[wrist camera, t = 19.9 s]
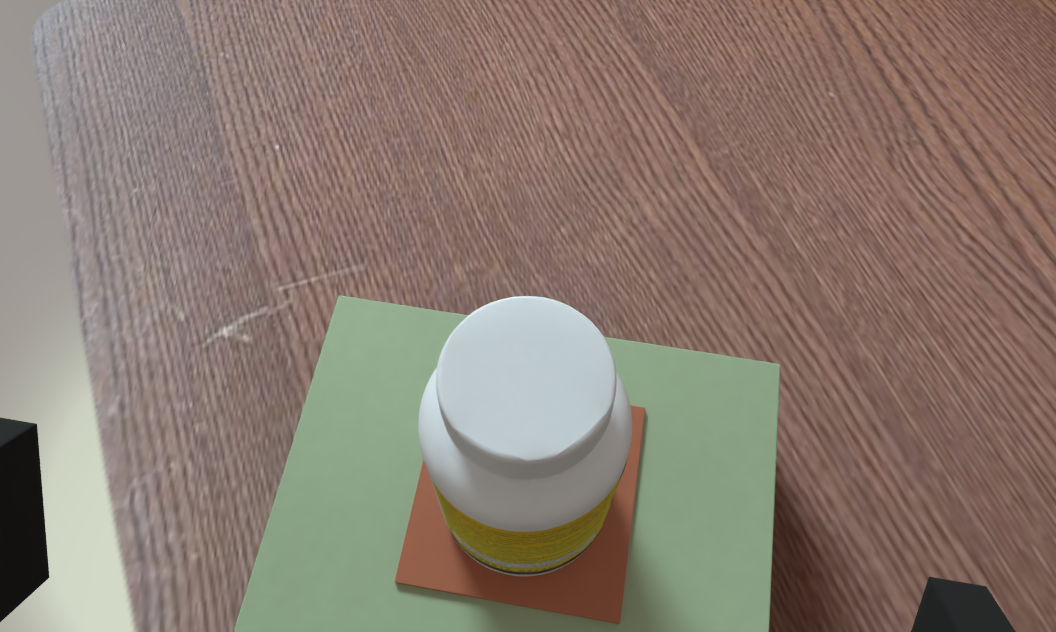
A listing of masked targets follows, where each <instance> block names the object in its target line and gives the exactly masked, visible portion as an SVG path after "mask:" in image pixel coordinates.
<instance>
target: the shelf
mask: <svg viewBox="0 0 1056 632" xmlns="http://www.w3.org/2000/svg"><path fill="white" fill-rule="evenodd" d="M467 316H468V315H461V314H455V313H448V312H442V311H436V310H429V309H423V308H416V307H410V306H404V305H397V304H391V303H384V302H378V301H372V300H365V299H359V298H352V297H346V296H338V299H337V302H336V305H335V308H334V312H333V315H332V318H331V321H330V325H329V328H328V331H327V334H326V337H325V341H324V344H323V347H322V350H321V353H320V357H319V360H318V363H317V366H316V369H315V373H314V376H313V379H312V382H311V385H310V389H309V392H308V395H307V398H306V401H305V405H304V408H303V411H302V414H301V417H300V421H299V424H298V427H297V430H296V433H295V437H294V440H293V443H292V446H291V449H290V453H289V456H288V459H287V462H286V465H285V469H284V472H283V475H282V478H281V481H280V485H279V488H278V491H277V494H276V497H275V501H274V504H273V507H272V510H271V513H270V517H269V520H268V523H267V526H266V529H265V533H264V536H263V539H262V542H261V545H260V549H259V552H258V555H257V558H256V561H255V565H254V568H253V571H252V574H251V577H250V581H249V584H248V587H247V590H246V593H245V597H244V600H243V603H242V606H241V609H240V613H239V616H238V619H237V622H236V625H235V629H234V632H769V622H770V599H771V575H772V551H773V527H774V503H775V479H776V456H777V432H778V408H779V384H780V364H775V363H769V362H762V361H756V360H749V359H743V358H737V357H730V356H724V355H717V354H711V353H704V352H698V351H692V350H685V349H679V348H672V347H666V346H660V345H653V344H647V343H640V342H634V341H628V340H621V339H615V338H608V337H604V338H605V340H606V342H607V344H608V346H609V348H610V350H611V353H612V356H613V359H614V362H615V368H616V372H617V373H618V375H619V377H620V378H621V380H622V383H623V385H624V387H625V389H626V392H627V395H628V399H629V402H630V407H631V414H632V439H631V444H630V449H629V454H628V458H627V462H626V466H625V469H624V472H623V474H622V476H621V479H620V481H619V484H618V487H617V490H616V492H615V495H614V498H613V501H612V503H611V506H610V508H609V511H608V514H607V517H606V520H605V522H604V524H603V526H602V528H601V530H600V532H599V534H598V536H597V537H596V538H595V540H594V541H593V542H592V544H591V545H590V546H589V547H588V548H587V549H586V550H585V552H583V553H582V554H581V555H580V556H579V557H578V558H576V559H575V560H574V561H572V562H571V563H569V564H567V565H566V566H564V567H562V568H560V569H557V570H555V571H553V572H550V573H546V574H542V575H536V576H513V575H507V574H503V573H499V572H496V571H493V570H491V569H489V568H487V567H485V566H483V565H481V564H480V563H478V562H477V561H475V560H474V559H473V558H471V557H470V556H469V555H468V554H467V553H466V552H465V551H464V550H463V549H462V548H461V547H460V546H459V545H458V543H457V542H456V541H455V539H454V538H453V536H452V534H451V533H450V531H449V529H448V527H447V525H446V522H445V519H444V517H443V514H442V511H441V508H440V505H439V502H438V499H437V496H436V493H435V490H434V487H433V484H432V481H431V478H430V476H429V473H428V470H427V467H426V464H425V462H424V459H423V455H422V452H421V447H420V442H419V433H418V419H419V409H420V404H421V400H422V396H423V393H424V391H425V388H426V386H427V383H428V381H429V379H430V377H431V375H432V374H433V372H434V371H435V369H436V368H437V365H438V360H439V357H440V354H441V351H442V349H443V347H444V345H445V343H446V341H447V339H448V337H449V336H450V335H451V333H452V332H453V331H454V329H455V328H456V327H457V326H458V325H459V324H460V323H461V322H462V321H463V320H464V319H465V318H466V317H467Z"/></svg>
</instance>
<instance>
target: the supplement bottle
mask: <svg viewBox="0 0 1056 632" xmlns="http://www.w3.org/2000/svg"><path fill="white" fill-rule="evenodd" d="M418 433H419V442H420V447H421V452H422V455H423V459H424V462H425V464H426V467H427V470H428V473H429V476H430V478H431V481H432V484H433V487H434V490H435V493H436V496H437V499H438V502H439V505H440V508H441V511H442V514H443V517H444V519H445V522H446V525H447V527H448V529H449V531H450V533H451V534H452V536H453V538H454V539H455V541H456V542H457V543H458V545H459V546H460V547H461V548H462V549H463V550H464V551H465V552H466V553H467V554H468V555H469V556H470V557H471V558H473V559H474V560H475V561H477V562H478V563H480V564H481V565H483V566H485V567H487V568H489V569H491V570H493V571H496V572H499V573H503V574H507V575H513V576H536V575H542V574H546V573H550V572H553V571H555V570H557V569H560V568H562V567H564V566H566V565H567V564H569V563H571V562H572V561H574V560H575V559H576V558H578V557H579V556H580V555H581V554H582V553H583V552H585V550H586V549H587V548H588V547H589V546H590V545H591V544H592V542H593V541H594V540H595V538H596V537H597V536H598V534H599V532H600V530H601V528H602V526H603V524H604V522H605V520H606V517H607V514H608V511H609V508H610V506H611V503H612V501H613V498H614V495H615V492H616V490H617V487H618V484H619V481H620V479H621V476H622V474H623V472H624V469H625V466H626V462H627V458H628V454H629V449H630V444H631V439H632V414H631V407H630V402H629V399H628V395H627V392H626V389H625V387H624V385H623V383H622V380H621V378H620V377H619V375H618V373H617V372H616V368H615V362H614V359H613V356H612V353H611V350H610V348H609V346H608V344H607V342H606V340H605V338H604V337H603V335H602V334H601V332H600V331H599V330H598V328H597V327H596V326H595V325H594V324H593V323H592V322H591V321H590V320H589V319H588V318H586V317H585V316H584V315H583V314H581V313H580V312H578V311H577V310H575V309H573V308H572V307H570V306H568V305H566V304H563V303H561V302H558V301H555V300H552V299H548V298H543V297H535V296H520V297H510V298H505V299H501V300H498V301H495V302H492V303H489V304H487V305H485V306H483V307H481V308H479V309H477V310H476V311H474V312H473V313H471V314H470V315H469V316H467V317H466V318H465V319H464V320H463V321H462V322H461V323H460V324H459V325H458V326H457V327H456V328H455V329H454V331H453V332H452V333H451V335H450V336H449V337H448V339H447V341H446V343H445V345H444V347H443V349H442V351H441V354H440V357H439V360H438V365H437V368H436V369H435V371H434V372H433V374H432V375H431V377H430V379H429V381H428V383H427V386H426V388H425V391H424V393H423V396H422V400H421V404H420V409H419V419H418Z"/></svg>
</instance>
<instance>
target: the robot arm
mask: <svg viewBox="0 0 1056 632" xmlns="http://www.w3.org/2000/svg"><path fill="white" fill-rule="evenodd" d="M43 508H44V507H43V496H42V483H41V470H40V458H39V446H38V433H37V424H34V423H28V422H22V421H16V420H11V419H5V418H0V622H1V621H2V620H3V619H4V618H5V617H6V616H7V615H9V613H11V612H12V611H13V610H14V609H15V608H16V607H17V606H18V605H20V604H21V603H22V602H23V601H24V600H25V599H26V598H27V597H28V596H29V595H30V594H32V593H33V592H34V591H35V590H36V589H37V588H38V587H39V586H40V585H41V584H42V583H44V582H45V581H46V580H47V579H48V578H49V571H48V557H47V545H46V533H45V520H44V509H43ZM911 632H1015V630H1014V629H1013V627H1012V626H1011V624H1010V623H1009V621H1008V620H1007V618H1006V616H1005V615H1004V613H1003V612H1002V610H1001V609H1000V607H999V606H998V604H997V603H996V601H995V599H994V598H993V596H992V595H991V593H990V592H989V590H988V589H987V587H986V586H980V585H974V584H968V583H962V582H956V581H951V580H945V579H939V578H933V577H929V579H928V582H927V585H926V588H925V591H924V594H923V597H922V600H921V603H920V606H919V609H918V612H917V616H916V619H915V622H914V625H913V628H912V631H911Z"/></svg>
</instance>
